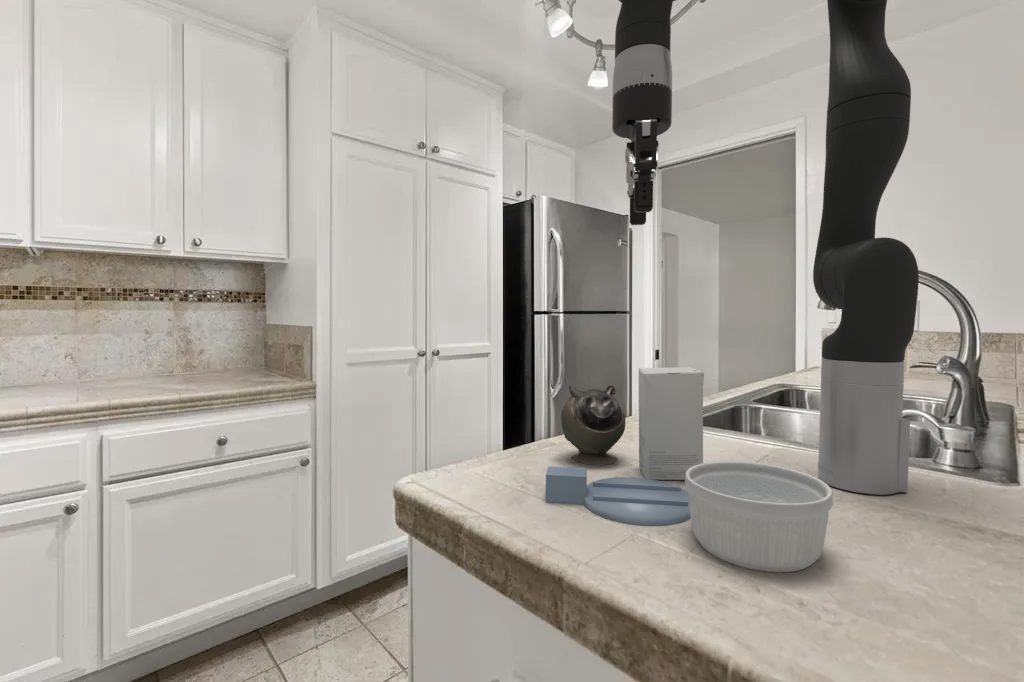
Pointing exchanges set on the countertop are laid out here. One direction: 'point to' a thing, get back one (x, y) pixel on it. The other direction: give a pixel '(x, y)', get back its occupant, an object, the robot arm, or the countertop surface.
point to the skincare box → (670, 421)
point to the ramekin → (758, 514)
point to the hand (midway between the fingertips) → (640, 218)
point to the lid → (619, 497)
